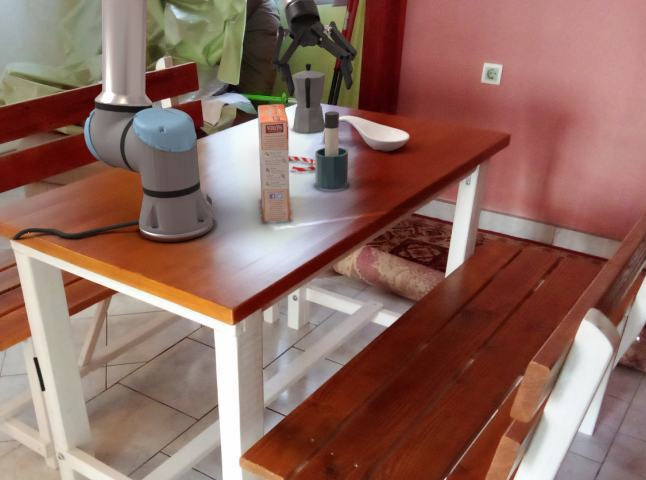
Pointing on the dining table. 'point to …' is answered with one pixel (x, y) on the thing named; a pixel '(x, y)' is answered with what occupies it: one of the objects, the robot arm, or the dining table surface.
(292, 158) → the candy cane
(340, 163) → the pen holder
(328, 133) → the marker
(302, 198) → the dining table surface
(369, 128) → the spoon rest
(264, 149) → the cracker box
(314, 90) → the coffeepot
